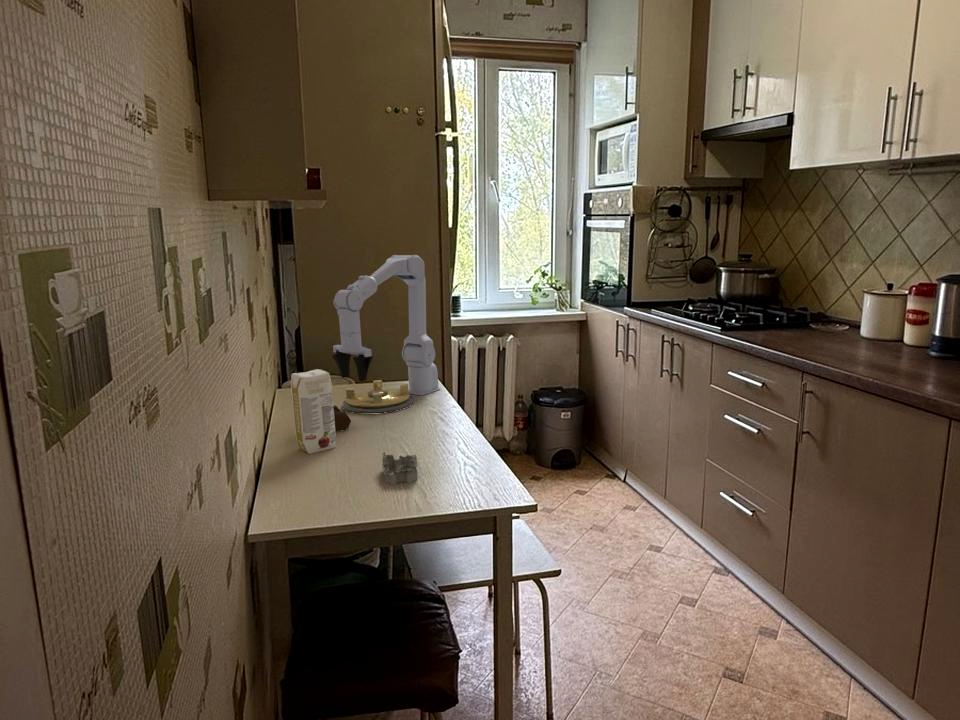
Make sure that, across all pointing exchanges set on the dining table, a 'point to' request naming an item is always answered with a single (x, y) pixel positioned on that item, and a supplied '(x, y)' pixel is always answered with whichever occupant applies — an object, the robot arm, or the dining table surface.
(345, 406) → the grey plate
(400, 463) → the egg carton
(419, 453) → the dining table surface
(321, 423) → the juice carton
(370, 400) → the round tray
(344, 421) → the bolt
